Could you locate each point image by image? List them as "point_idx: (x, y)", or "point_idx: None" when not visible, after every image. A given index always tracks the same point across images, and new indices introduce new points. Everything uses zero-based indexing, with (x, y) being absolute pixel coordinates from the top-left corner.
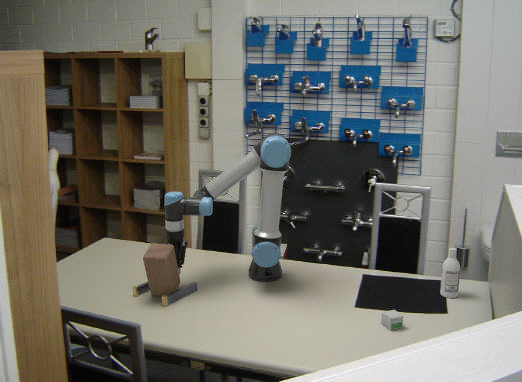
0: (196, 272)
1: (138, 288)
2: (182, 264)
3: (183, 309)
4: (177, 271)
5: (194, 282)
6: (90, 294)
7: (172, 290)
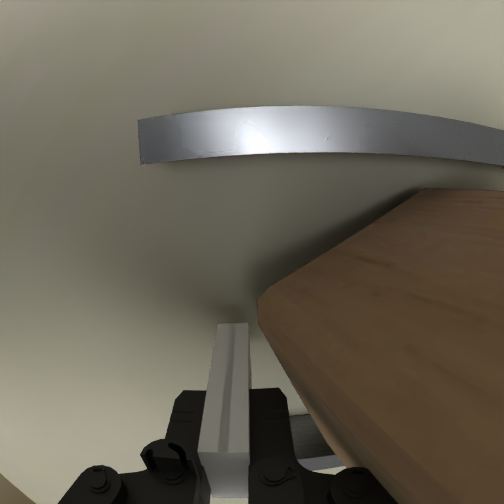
0: (13, 366)
1: None
2: (116, 474)
3: (473, 16)
4: (432, 349)
5: (157, 146)
6: None
7: (472, 190)
